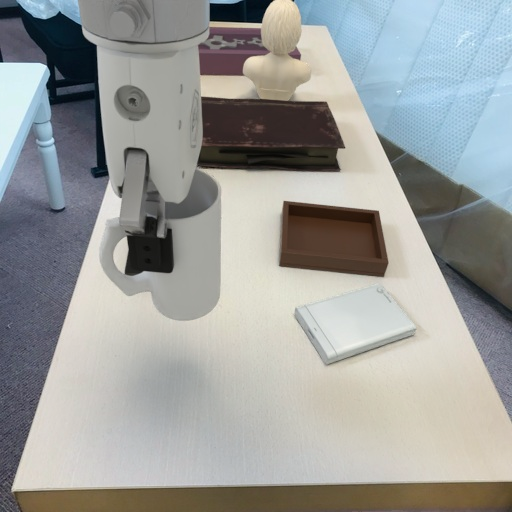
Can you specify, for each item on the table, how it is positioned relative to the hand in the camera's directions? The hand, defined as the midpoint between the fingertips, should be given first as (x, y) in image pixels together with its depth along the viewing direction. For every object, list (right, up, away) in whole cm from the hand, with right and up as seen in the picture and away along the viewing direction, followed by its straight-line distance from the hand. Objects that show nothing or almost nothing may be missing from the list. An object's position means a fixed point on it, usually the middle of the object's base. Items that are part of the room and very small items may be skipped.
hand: (162, 236), depth 42 cm
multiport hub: (-7, -1, +28) cm, 29 cm away
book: (+4, +44, +78) cm, 90 cm away
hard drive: (+20, -10, +21) cm, 31 cm away
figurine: (+11, +31, +64) cm, 72 cm away
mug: (0, -6, +5) cm, 8 cm away
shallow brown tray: (+18, 0, +32) cm, 37 cm away
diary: (+9, +19, +51) cm, 55 cm away
